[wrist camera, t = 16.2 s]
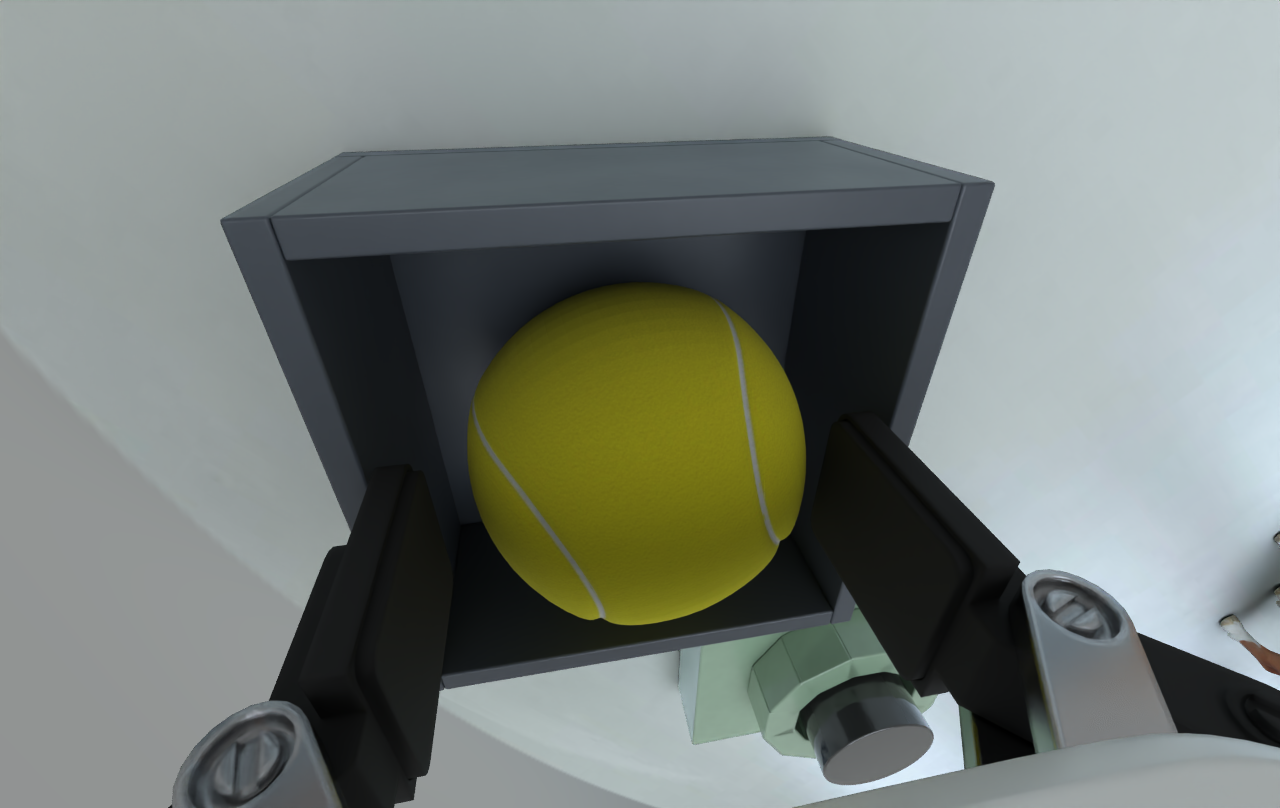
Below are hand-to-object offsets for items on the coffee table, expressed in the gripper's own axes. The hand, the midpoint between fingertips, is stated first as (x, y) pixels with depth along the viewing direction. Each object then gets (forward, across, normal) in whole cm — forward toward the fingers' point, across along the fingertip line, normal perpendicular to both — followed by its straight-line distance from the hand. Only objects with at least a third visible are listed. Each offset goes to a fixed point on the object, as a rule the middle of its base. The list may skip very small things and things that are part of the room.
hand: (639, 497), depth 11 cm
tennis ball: (+5, 0, 0) cm, 5 cm away
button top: (+2, -8, +13) cm, 15 cm away
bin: (+6, 0, 0) cm, 6 cm away
